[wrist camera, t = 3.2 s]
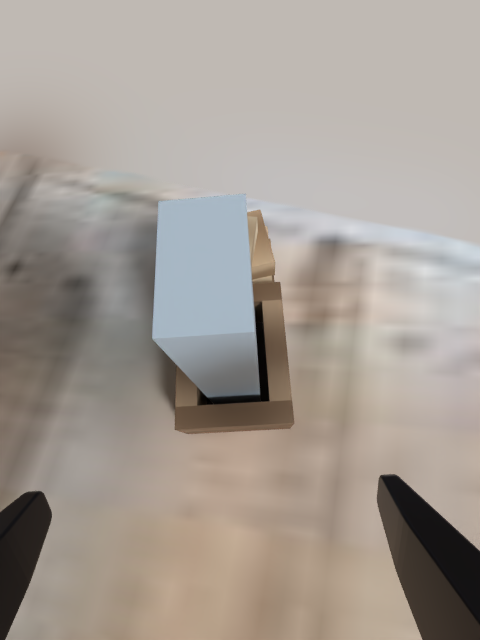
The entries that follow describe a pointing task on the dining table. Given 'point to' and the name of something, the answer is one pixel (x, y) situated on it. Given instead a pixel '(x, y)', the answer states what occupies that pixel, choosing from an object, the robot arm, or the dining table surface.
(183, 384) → the rack
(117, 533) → the dining table surface
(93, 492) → the dining table surface
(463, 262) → the dining table surface
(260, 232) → the offcut stack
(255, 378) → the light blue tall bar
